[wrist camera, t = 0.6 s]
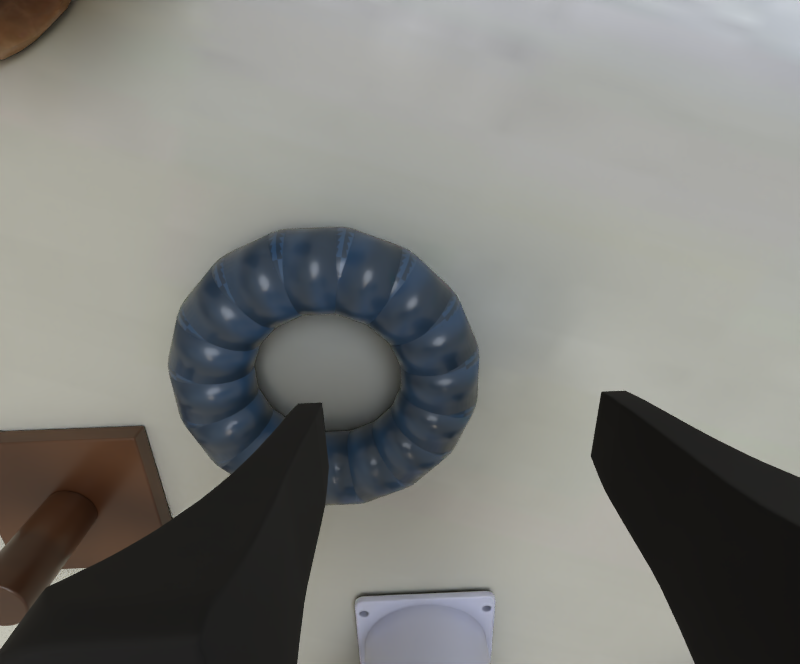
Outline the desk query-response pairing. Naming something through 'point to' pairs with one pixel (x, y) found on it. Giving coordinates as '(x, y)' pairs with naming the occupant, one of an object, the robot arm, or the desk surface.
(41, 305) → the desk surface
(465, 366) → the ring
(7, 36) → the human skull figurine
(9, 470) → the peg stand
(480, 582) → the desk surface
